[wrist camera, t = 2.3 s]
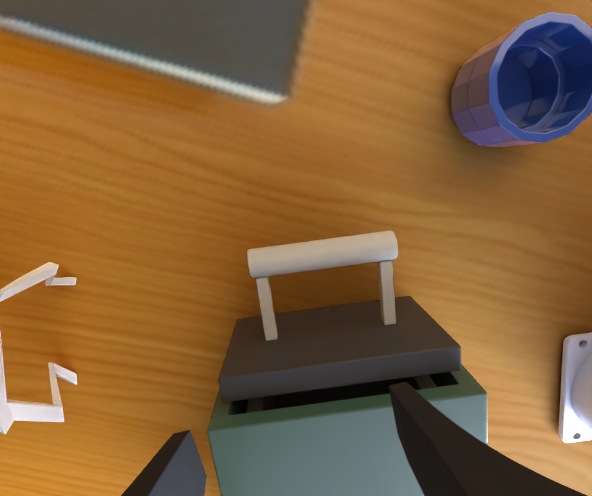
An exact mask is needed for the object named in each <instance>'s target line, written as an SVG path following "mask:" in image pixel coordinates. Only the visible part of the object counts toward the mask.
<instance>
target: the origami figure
mask: <svg viewBox="0 0 592 496" xmlns="http://www.w3.org/2000/svg"><path fill="white" fill-rule="evenodd" d="M58 267H59V265H58V264H55V263H52V262H48V263H46V264H44V265H42V266H40V267H38V268H37V269H35V270H33V271H31V272H29V273H27V274H25V275H23V276H21V277H20V278H18V279H16V280H15V281H13V282H12V283H10V284H8V285H7V286H5V287H3V288H2V289H0V302H1V301H3V300H5V299H7V298H9V297H11V296H13V295H15V294H17V293H19V292H21V291H23V290H25V289H27V288H29V287H31V286H33V285H35V284H37V283H39V282H41V281H43V280H45V279H46V282H45V286H49V285H75V284H76V279H77V278H75V277H63V278H54V277H55V275H56V273H57V270H58ZM48 366H49V375H50V383H51V391H52V399H53V404H45V403H35V402H26V401H17V400H9V399H7V397H6V386H5V375H4V364H3V353H2V342H1V331H0V432H1V433H3V434H6V433H7V431H8V430H9V428H10V426H11V425H12V423H13V422H14V420H18V421H39V422H64V416H63V408H62V403H61V398H60V393H59V388H58V384H57V379H56V376H58V377H60V378H62V379H64V380H66V381H68V382H70V383H72V384H77V375H76V373H74V372H72V371H69V370H67V369H65V368H63V367H61V366H59V365H57V364H54V363H48Z"/></svg>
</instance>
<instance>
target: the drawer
mask: <svg viewBox="0 0 592 496" xmlns="http://www.w3.org/2000/svg"><path fill="white" fill-rule="evenodd" d="M397 254H398V245H397V240H396V236H395V234H394V232H393V231H383V232H375V233H368V234H360V235H353V236H345V237H338V238H330V239H323V240H315V241H308V242H300V243H293V244H285V245H278V246H270V247H263V248H255V249H249V250H248V251H247V262H248V269H249V273H250V276H251V278H256V285H257V291H258V297H259V303H260V309H261V315H262V316H257V317H250V318H242V319H237V321H236V325H235V328H234V331H233V334H232V337H231V341H230V344H229V347H228V350H227V353H226V357H225V360H224V363H223V366H222V369H221V373H220V376H219V379H218V380H219V385H220V390H221V395H222V400H223V402H231V401H238V400H246V399H248V405H247V411H246V413H250V412H258V411H265V410H273V409H280V408H287V407H295V406H302V405H309V404H317V403H324V402H331V401H339V400H346V399H353V398H361V397H368V396H375V395H383V394H390V391H389V385H393V384H398V383H402V382H407V383H408V384H409V385H410V386H412V387H413V388H414V389H415V390H419V389H427V388H434V387H437V386H436V384H435V383H434V382H433V380H432V379H431V377H430V376H429V375H430V374H437V373H444V372H452V371H459V370H461V347H460V345H459V344H458V343H457V342H456V341H455V340H454V339H453V338H452V337H451V336H450V335H449V334H448V333H447V332H446V331H445V330H444V329H443V328H442V327H441V326H440V325H439V324H438V323H437V322H436V321H435V320H434V319H433V318H432V317H431V316H430V315H429V314H428V313H427V312H426V311H425V310H424V309H423V308H422V307H421V306H420V305H419V304H418V303H417V302H416V301H415V300H414V299H413V298H412V297H411V296H406V297H398V298H394V284H393V269H392V261H391V260H392V259H396V258H397ZM370 262H377V268H378V281H379V294H380V300H376V301H368V302H361V303H354V304H346V305H339V306H331V307H324V308H316V309H309V310H302V311H294V312H287V313H279V314H274V308H273V301H272V295H271V288H270V282H269V276H273V275H280V274H288V273H295V272H303V271H310V270H318V269H325V268H333V267H340V266H347V265H355V264H362V263H370Z"/></svg>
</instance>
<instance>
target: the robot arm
mask: <svg viewBox="0 0 592 496" xmlns="http://www.w3.org/2000/svg"><path fill="white" fill-rule="evenodd" d="M581 341H582V342H581ZM580 342H581V343H580ZM579 343H580V344H579ZM389 391H390V396H391V402H392V407H393V412H394V417H395V423H396V428H397V433H398V436H399V439H400V442H401V444H402V447H403V450H404V452H405V455H406V458H407V460H408V463H409V465H410V467H411V469H412V471H413V473H414V475H415V477H416V479H417V481H418V483H419V485H420V488H421V490H422V492H423V494H424V496H587V495H585V494H582V493H580V492H578V491H575V490H573V489H571V488H568V487H566V486H564V485H561V484H559V483H557V482H555V481H553V480H551V479H548V478H546V477H544V476H542V475H540V474H538V473H536V472H534V471H532V470H530V469H528V468H527V467H525V466H523V465H521V464H519V463H517V462H515V461H513V460H511V459H509V458H508V457H506V456H504V455H503V454H501V453H499V452H498V451H496V450H494V449H493V448H491V447H489V446H488V445H486V444H485V443H483V442H482V441H480V440H479V439H477V438H476V437H474V436H473V435H471V434H470V433H468V432H467V431H466V430H464V429H463V428H461V427H460V426H459V425H457V424H456V423H455V422H453V421H452V420H451V419H449V418H448V417H447V416H446V415H444V414H443V413H442V412H440V411H439V410H438V409H437V408H436V407H434V406H433V405H432V404H431V403H430V402H428V401H427V400H426V399H425V398H424V397H423V396H421V395H420V394H419V393H418V392H417V391H416V390H415V389H414V388H413V387H412V386H410V385H409V384H408V383H407V382H402V383H398V384H393V385H389ZM558 435H559V437H560V439H561V440H562V441H564V442H566V443H571V442H578V441H585V440H592V332H591V333H584V334H577V335H570V336H568V337H566V338H565V340H564V342H563V358H562V376H561V395H560V413H559V432H558ZM206 477H207V476H206V473H205V470H204V467H203V464H202V462H201V459H200V456H199V453H198V450H197V448H196V445H195V442H194V439H193V436H192V433H191V431H190V430H188V431H183V432H179V433H174V434H173V435H172V436H171V437H170V438H169V439H168V441H167V442H166V443H165V444H164V445H163V447H162V448H161V449H160V450H159V451H158V453H157V454H156V455H155V456H154V457H153V459H152V460H151V461H150V462H149V463H148V465H147V466H146V467H145V468H144V469H143V471H142V472H141V473H140V474H139V475H138V477H137V478H136V479H135V480H134V481H133V483H132V484H131V485H130V486H129V487H128V488H127V489H126V491H125V492H124V493H123V494H122V495H121V496H204V494H205V485H206Z"/></svg>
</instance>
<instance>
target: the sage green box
mask: <svg viewBox="0 0 592 496" xmlns="http://www.w3.org/2000/svg"><path fill="white" fill-rule="evenodd" d="M429 376H430V377H431V379H432V380H433V382H434V383H435V384H436V386H437V387H434V388H427V389H419V390H416V391H417V392H418V393H419V394H420V395H421V396H423V397H424V398H425V399H426V400H427V401H428V402H430V403H431V404H432V405H433V406H434V407H436V408H437V409H438V410H439V411H440V412H442V413H443V414H444V415H446V416H447V417H448V418H449V419H451V420H452V421H453V422H455V423H456V424H457V425H459V426H460V427H461V428H463V429H464V430H466V431H467V432H468V433H470V434H471V435H473V436H474V437H476V438H477V439H479V440H480V441H482V442H483V443H485V444H486V445H487V392H486V391H485V390H484V389H483V388H482V387H481V386H480V384H479V383H478V382H477V381H476V380H475V379H474V378H473V376H472V375H471V374H470V373H469V372H468V371H467V370H466V369H465V368H464V367H463V365H462V364H461V370H459V371H452V372H444V373H437V374H430V375H429ZM247 405H248V399H246V400H238V401H231V402H223V400H222V395H221V390H220V388H219V391H218V395H217V398H216V402H215V405H214V408H213V412H212V415H211V419H210V423H209V426H208V430H207V433H208V438H209V442H210V447H211V451H212V456H213V460H214V465H215V469H216V474H217V478H218V483H219V487H220V492H221V496H424V494H423V492H422V490H421V488H420V485H419V483H418V481H417V479H416V477H415V475H414V473H413V471H412V469H411V467H410V465H409V463H408V460H407V458H406V455H405V452H404V450H403V447H402V444H401V442H400V439H399V436H398V433H397V428H396V423H395V417H394V412H393V407H392V402H391V396H390V394H383V395H375V396H368V397H361V398H353V399H346V400H339V401H331V402H324V403H317V404H309V405H302V406H295V407H287V408H280V409H273V410H265V411H258V412H250V413H246V411H247Z"/></svg>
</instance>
